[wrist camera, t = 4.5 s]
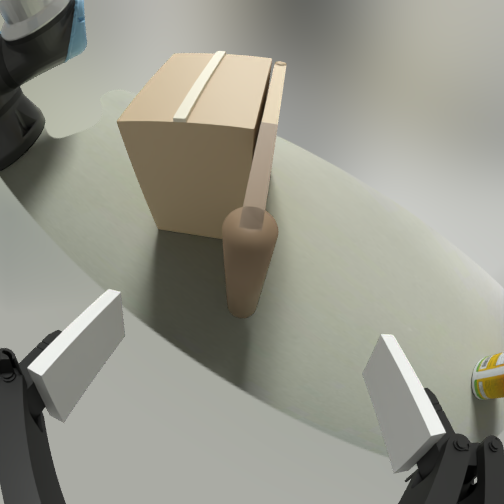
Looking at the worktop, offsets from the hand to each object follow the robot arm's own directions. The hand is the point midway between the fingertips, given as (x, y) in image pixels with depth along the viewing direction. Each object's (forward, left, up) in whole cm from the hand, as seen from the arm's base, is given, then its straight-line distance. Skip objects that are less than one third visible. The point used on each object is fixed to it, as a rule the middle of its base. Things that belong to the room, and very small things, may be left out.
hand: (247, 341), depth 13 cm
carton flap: (-9, +9, -11) cm, 17 cm away
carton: (-16, +7, -11) cm, 21 cm away
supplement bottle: (+22, +20, -11) cm, 31 cm away
